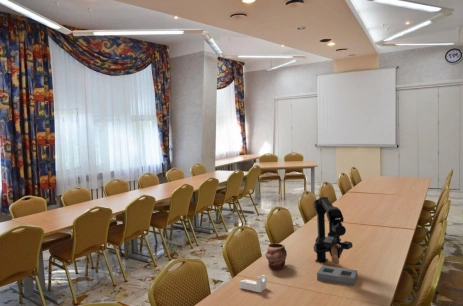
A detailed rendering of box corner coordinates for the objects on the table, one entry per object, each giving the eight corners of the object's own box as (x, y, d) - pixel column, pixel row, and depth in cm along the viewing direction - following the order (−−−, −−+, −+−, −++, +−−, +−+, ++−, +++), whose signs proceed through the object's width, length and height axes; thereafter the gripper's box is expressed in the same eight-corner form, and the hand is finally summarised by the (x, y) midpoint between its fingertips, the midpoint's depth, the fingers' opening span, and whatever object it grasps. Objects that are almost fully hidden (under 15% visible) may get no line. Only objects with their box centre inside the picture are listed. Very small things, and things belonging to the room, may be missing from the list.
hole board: (322, 271, 210) (322, 265, 210) (357, 277, 201) (357, 270, 200) (317, 279, 200) (316, 273, 200) (353, 285, 190) (353, 278, 190)
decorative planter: (274, 259, 234) (273, 239, 233) (292, 262, 228) (291, 241, 227) (262, 270, 217) (261, 248, 216) (280, 274, 210) (279, 251, 209)
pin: (330, 263, 200) (329, 245, 199) (334, 261, 202) (333, 244, 202) (336, 264, 197) (336, 247, 196) (340, 262, 200) (339, 245, 199)
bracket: (265, 290, 193) (266, 276, 194) (260, 292, 187) (261, 277, 188) (245, 285, 200) (246, 272, 201) (239, 287, 194) (240, 273, 195)
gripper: (312, 231, 200) (313, 258, 200) (342, 237, 186) (343, 265, 187) (322, 226, 207) (323, 252, 208) (352, 232, 194) (353, 259, 195)
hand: (335, 257), depth 199 cm, fingers closed on pin, 4 cm apart
